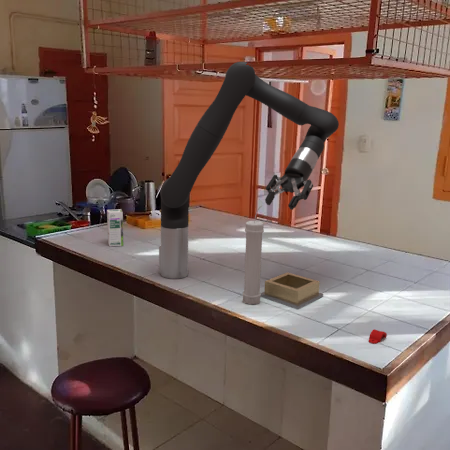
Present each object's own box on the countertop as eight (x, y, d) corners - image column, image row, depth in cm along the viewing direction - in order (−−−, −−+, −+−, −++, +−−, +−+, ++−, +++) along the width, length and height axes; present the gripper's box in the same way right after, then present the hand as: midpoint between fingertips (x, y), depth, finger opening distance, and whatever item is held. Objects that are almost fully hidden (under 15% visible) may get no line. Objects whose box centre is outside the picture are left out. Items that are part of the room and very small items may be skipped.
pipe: (254, 296, 154) (258, 200, 147) (265, 304, 149) (270, 204, 142) (238, 299, 152) (242, 202, 144) (249, 307, 146) (253, 206, 139)
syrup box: (109, 247, 202) (108, 211, 199) (107, 243, 208) (106, 208, 204) (123, 246, 204) (122, 211, 201) (121, 242, 210) (121, 208, 206)
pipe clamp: (376, 346, 125) (377, 338, 124) (365, 342, 127) (366, 334, 126) (388, 335, 131) (389, 328, 130) (378, 332, 133) (379, 324, 132)
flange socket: (259, 296, 154) (260, 281, 153) (285, 285, 165) (286, 270, 164) (297, 309, 145) (298, 293, 144) (323, 296, 156) (324, 281, 155)
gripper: (278, 155, 160) (254, 194, 154) (317, 159, 150) (293, 201, 145) (287, 170, 165) (264, 209, 159) (325, 175, 156) (302, 217, 150)
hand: (278, 205), depth 152 cm, fingers open, 8 cm apart
